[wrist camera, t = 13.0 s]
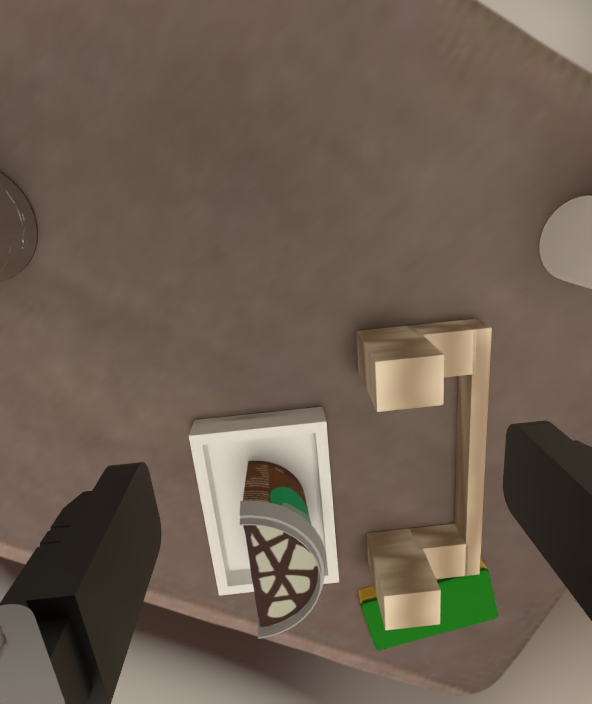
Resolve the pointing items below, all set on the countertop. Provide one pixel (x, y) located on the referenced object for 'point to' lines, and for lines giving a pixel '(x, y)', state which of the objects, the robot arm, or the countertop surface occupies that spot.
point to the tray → (230, 474)
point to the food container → (280, 547)
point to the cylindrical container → (569, 242)
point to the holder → (427, 390)
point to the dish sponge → (455, 609)
